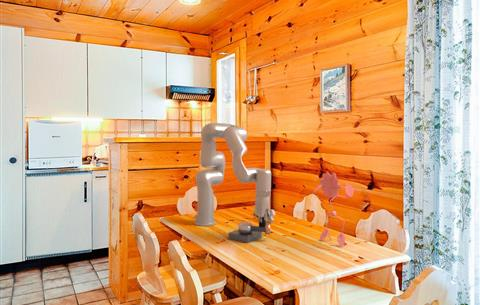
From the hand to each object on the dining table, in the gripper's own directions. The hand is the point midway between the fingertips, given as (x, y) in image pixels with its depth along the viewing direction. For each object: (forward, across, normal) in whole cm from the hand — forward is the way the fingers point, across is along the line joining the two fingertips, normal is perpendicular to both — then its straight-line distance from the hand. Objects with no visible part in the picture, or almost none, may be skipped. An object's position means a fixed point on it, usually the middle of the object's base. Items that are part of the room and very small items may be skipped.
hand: (262, 229), depth 182 cm
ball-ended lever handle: (+1, 0, -4) cm, 5 cm away
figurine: (+4, +19, +27) cm, 33 cm away
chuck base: (+4, -2, -8) cm, 10 cm away
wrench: (+5, -39, +16) cm, 42 cm away
